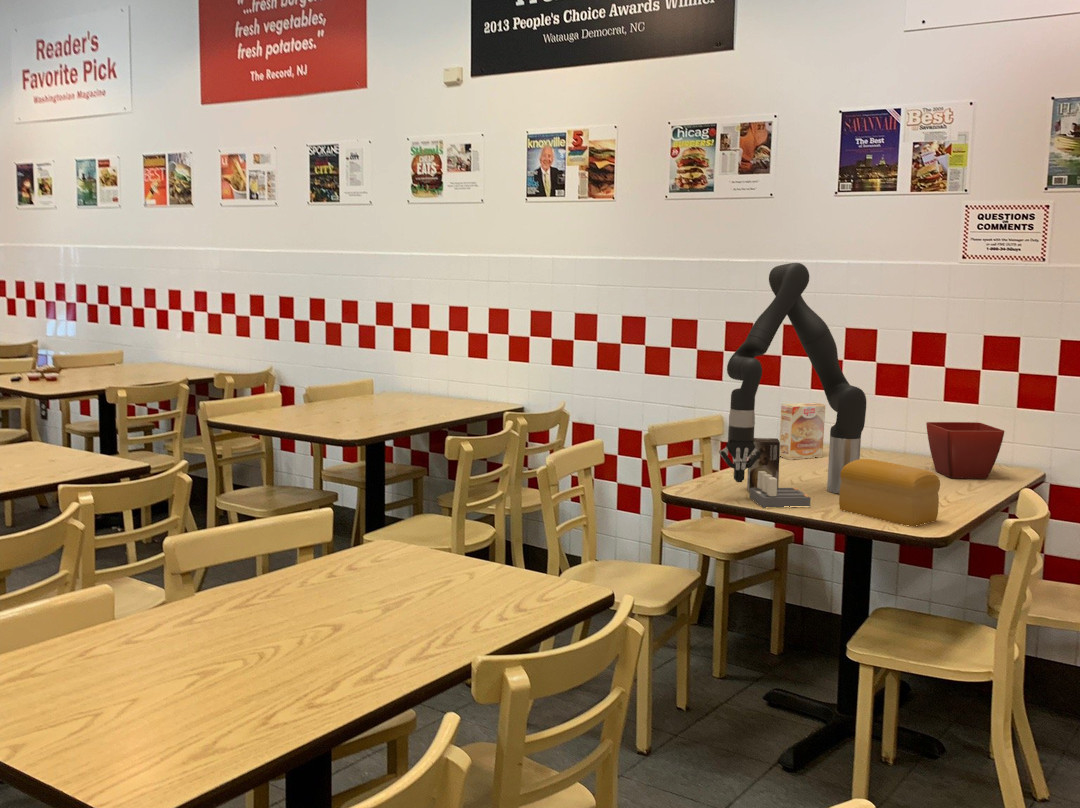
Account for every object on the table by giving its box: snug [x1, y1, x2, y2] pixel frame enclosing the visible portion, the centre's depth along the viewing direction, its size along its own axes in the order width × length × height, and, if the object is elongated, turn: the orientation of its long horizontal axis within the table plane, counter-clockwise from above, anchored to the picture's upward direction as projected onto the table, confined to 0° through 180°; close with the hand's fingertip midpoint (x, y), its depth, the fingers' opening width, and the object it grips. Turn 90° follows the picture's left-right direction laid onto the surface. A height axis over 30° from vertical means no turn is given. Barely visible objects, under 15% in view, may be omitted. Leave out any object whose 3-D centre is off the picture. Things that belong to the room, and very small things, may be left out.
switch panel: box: [749, 487, 812, 509], centre depth 312 cm, size 14×13×3 cm
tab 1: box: [757, 471, 767, 489], centre depth 315 cm, size 2×3×5 cm
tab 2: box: [762, 474, 772, 493], centre depth 311 cm, size 2×3×5 cm
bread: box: [838, 458, 941, 527], centre depth 298 cm, size 24×13×15 cm, turn 37°
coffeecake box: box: [778, 402, 827, 461], centre depth 383 cm, size 15×7×20 cm, turn 115°
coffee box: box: [746, 437, 780, 492], centre depth 327 cm, size 9×6×16 cm
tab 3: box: [767, 477, 777, 496], centre depth 306 cm, size 2×3×5 cm
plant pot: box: [926, 421, 1006, 480], centre depth 356 cm, size 19×19×17 cm
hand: (738, 481), depth 315 cm, fingers closed
